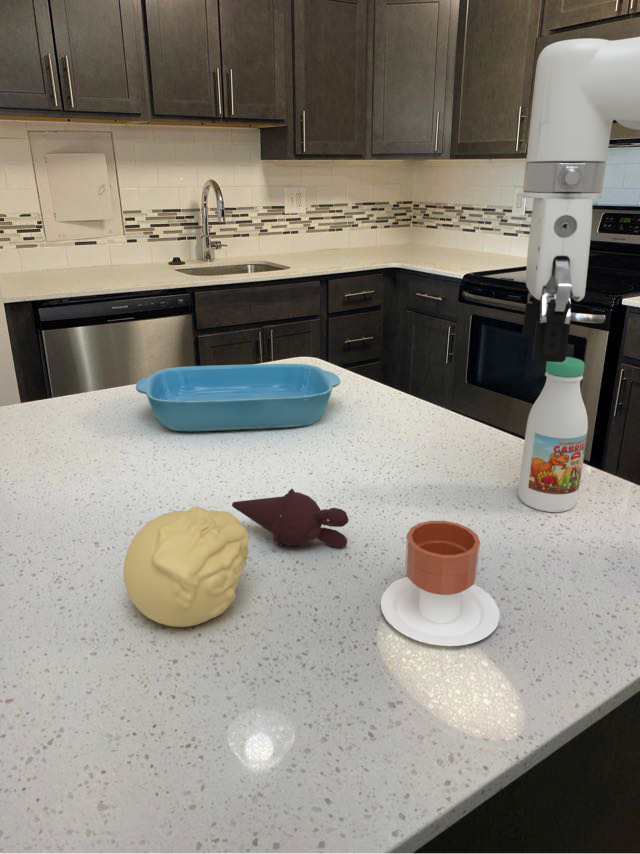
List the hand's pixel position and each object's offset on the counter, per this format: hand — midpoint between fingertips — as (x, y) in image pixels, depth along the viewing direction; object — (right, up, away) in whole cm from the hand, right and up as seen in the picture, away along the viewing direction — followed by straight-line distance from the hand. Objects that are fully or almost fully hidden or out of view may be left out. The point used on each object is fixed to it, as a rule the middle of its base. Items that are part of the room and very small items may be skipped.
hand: (542, 349), depth 73 cm
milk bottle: (+7, -19, +19) cm, 28 cm away
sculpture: (-38, -28, -3) cm, 47 cm away
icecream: (-28, -23, +9) cm, 37 cm away
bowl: (-12, -24, -6) cm, 27 cm away
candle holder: (-12, -28, -4) cm, 31 cm away
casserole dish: (-39, -7, +51) cm, 64 cm away
